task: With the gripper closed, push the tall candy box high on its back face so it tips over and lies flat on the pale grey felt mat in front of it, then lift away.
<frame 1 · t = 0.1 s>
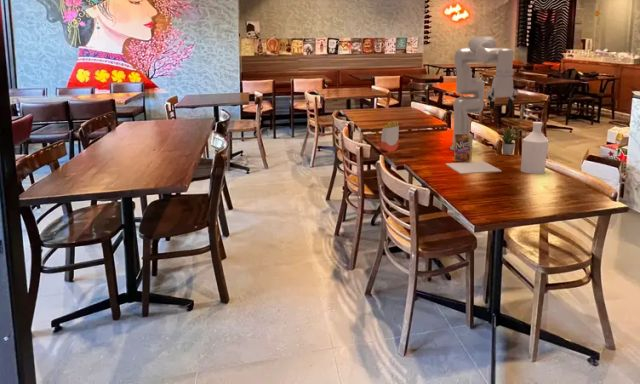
hand: (500, 108, 261), 31 cm above the table, tool pointing down, fingers open, 9 cm apart
bottle: (532, 171, 263), on the table
felt mat: (472, 168, 270), on the table
candy box: (462, 161, 282), on the table
french fries container: (389, 151, 313), on the table
house plant: (508, 154, 299), on the table
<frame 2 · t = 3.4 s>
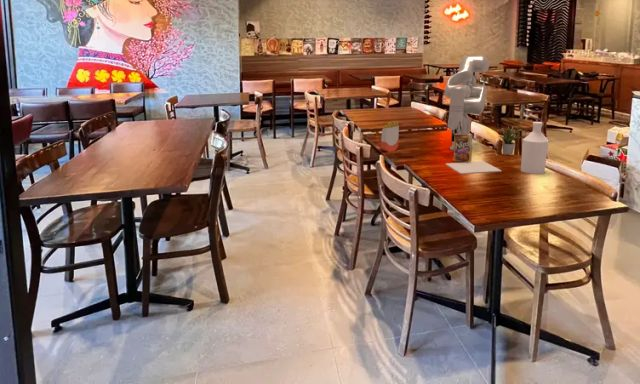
hand: (454, 141, 291), 9 cm above the table, tool pointing down, fingers closed
candy box: (462, 161, 283), on the table, touching felt mat
everything else where it was.
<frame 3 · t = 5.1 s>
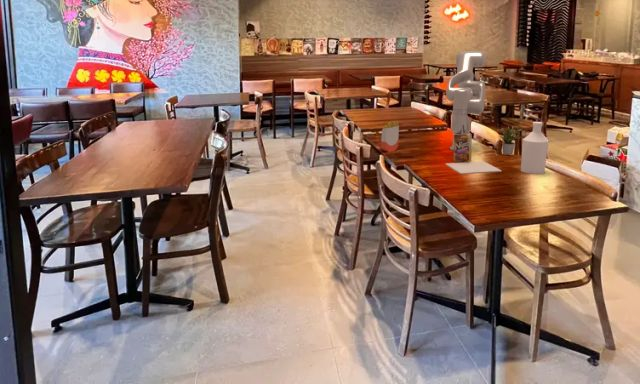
hand: (457, 144, 287), 8 cm above the table, tool pointing down, fingers closed
nothing on the table moved.
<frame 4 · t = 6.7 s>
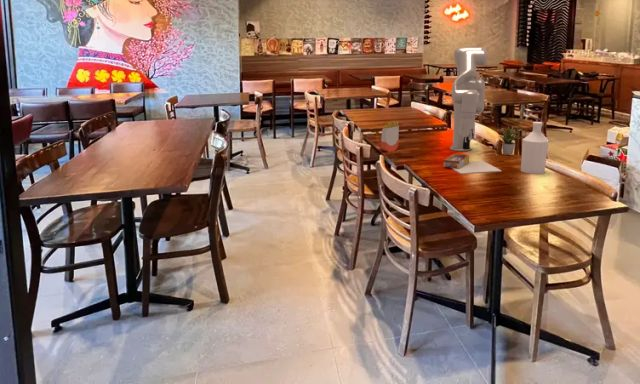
hand: (466, 148, 277), 8 cm above the table, tool pointing down, fingers closed
candy box: (461, 158, 281), point 3 cm above the table, touching felt mat
everything else where it was.
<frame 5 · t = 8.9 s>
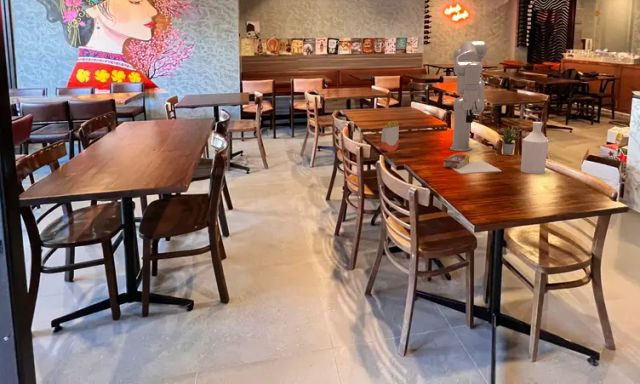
hand: (469, 122, 271), 23 cm above the table, tool pointing down, fingers closed
nothing on the table moved.
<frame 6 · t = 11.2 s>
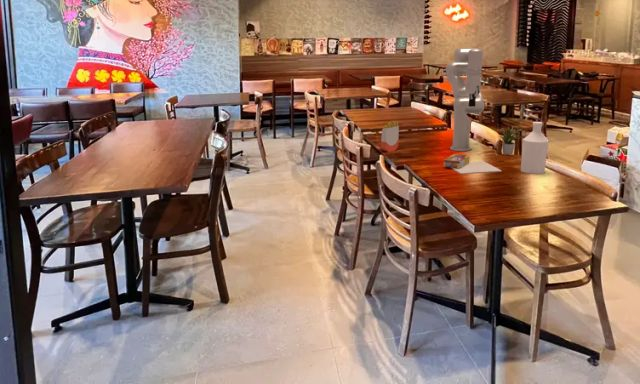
hand: (471, 106, 284), 29 cm above the table, tool pointing down, fingers closed
nothing on the table moved.
at the end: candy box tilted 89°; candy box touching felt mat; candy box inside the target area (2.4 cm from its centre), point 2.5 cm above the table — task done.
